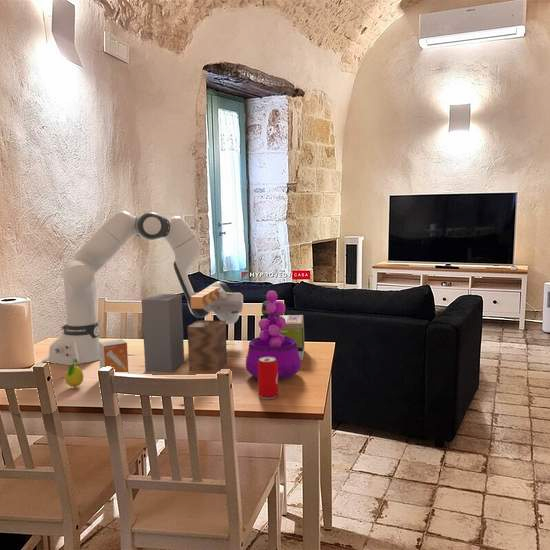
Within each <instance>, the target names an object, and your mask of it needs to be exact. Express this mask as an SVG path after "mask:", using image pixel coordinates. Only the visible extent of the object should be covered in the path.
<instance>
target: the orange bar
mask: <svg viewBox="0 0 550 550" xmlns="http://www.w3.org/2000/svg"><path fill="white" fill-rule="evenodd" d="M206 288H207V287H206ZM204 289H205V288H204ZM204 289H202V290H203V291H202V290H201V291H198V292H196V293H197V294H195V295H193V296H191V308H194V309H202V308H204V307H206V306H207V305H209V304H210V303H212V302H213V301H215V300H217V299H218V298H220V296H218V295H217V293H218V292H217V291H220V287H209V288H207V289H205V290H204Z"/></svg>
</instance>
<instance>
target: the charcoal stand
mask: <svg viewBox="0 0 550 550" xmlns="http://www.w3.org/2000/svg"><path fill="white" fill-rule="evenodd" d="M182 297H183V296H182V294H181V293H180V294H179V293H177V294H176V293H155V294H153V295H150V296H147V297H146V298H143V299H141V311H142V312H141V314H142V332H143V333H142V334H143V335H142V336H143V352H144V370H145V372H150V371H154V373H155V372H157V373H172V372H174V371H175V370H177V369H178V368H179V367H180V366H181V365H182V364H184V363H185V345H184V325H183V303H182V302H183V300H182ZM183 362H184V363H183Z"/></svg>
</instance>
